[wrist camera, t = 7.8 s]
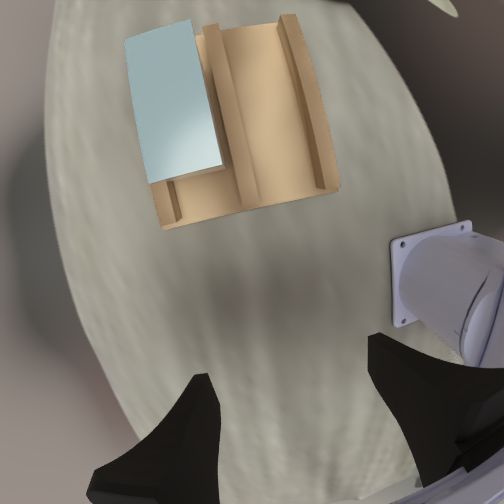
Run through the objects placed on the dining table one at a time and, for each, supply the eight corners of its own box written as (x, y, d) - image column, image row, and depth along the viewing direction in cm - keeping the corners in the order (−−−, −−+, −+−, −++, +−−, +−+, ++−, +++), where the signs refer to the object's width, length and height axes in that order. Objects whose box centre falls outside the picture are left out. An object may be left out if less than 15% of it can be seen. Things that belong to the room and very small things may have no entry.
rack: (292, 27, 16) (300, 8, 13) (333, 190, 20) (349, 193, 17) (132, 61, 16) (118, 46, 13) (166, 227, 20) (155, 236, 17)
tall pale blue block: (205, 70, 16) (190, 19, 9) (227, 169, 18) (222, 164, 11) (160, 82, 16) (124, 40, 9) (180, 181, 18) (148, 184, 11)
